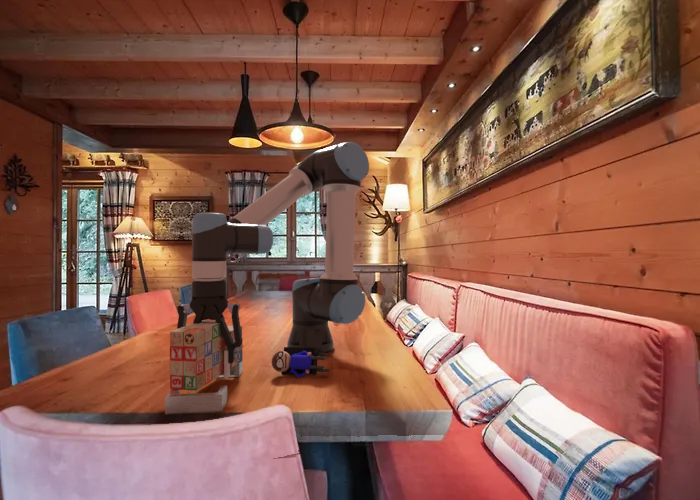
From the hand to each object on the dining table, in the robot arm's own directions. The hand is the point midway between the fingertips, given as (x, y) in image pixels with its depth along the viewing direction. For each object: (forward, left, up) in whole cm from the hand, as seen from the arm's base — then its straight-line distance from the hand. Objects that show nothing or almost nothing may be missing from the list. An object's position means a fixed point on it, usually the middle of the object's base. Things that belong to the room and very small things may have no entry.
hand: (209, 377), depth 89 cm
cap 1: (0, +10, -3) cm, 11 cm away
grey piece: (0, -11, -3) cm, 11 cm away
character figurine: (-21, -8, -3) cm, 23 cm away
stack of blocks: (0, -1, 0) cm, 1 cm away
